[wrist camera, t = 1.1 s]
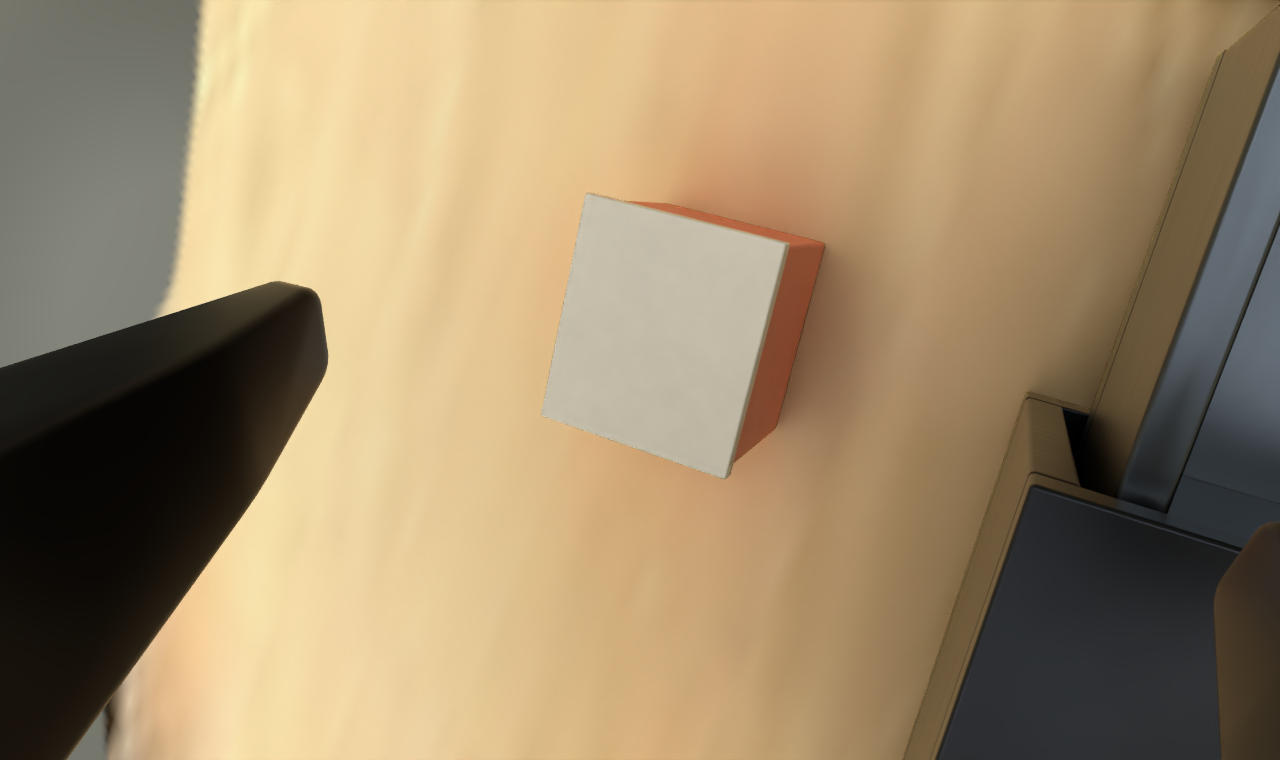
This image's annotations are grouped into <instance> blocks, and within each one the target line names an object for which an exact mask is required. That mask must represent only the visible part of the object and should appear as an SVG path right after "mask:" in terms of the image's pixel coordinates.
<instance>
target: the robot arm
mask: <svg viewBox="0 0 1280 760" xmlns="http://www.w3.org/2000/svg"><path fill="white" fill-rule="evenodd" d="M327 365H328V349H327V342H326V335H325V328H324V321H323V314H322V307H321V302H320V298H319V297H318V295H317V293H316V292H315V291H313V290H312V289H310V288H307V287H303V286H298V285H294V284H290V283H286V282H281V281H274V282H270V283H267V284H264V285H261V286H257V287H254V288H251V289H248V290H245V291H242V292H239V293H235V294H232V295H229V296H226V297H223V298H220V299H216V300H213V301H210V302H207V303H204V304H201V305H198V306H194V307H191V308H188V309H185V310H182V311H179V312H175V313H172V314H169V315H166V316H163V317H160V318H156V319H153V320H150V321H147V322H144V323H141V324H138V325H134V326H131V327H129V328H125V329H122V330H119V331H116V332H112V333H109V334H106V335H103V336H100V337H96V338H94V339H90V340H87V341H84V342H81V343H78V344H74V345H71V346H68V347H65V348H62V349H59V350H56V351H52V352H49V353H46V354H43V355H40V356H37V357H33V358H30V359H27V360H24V361H21V362H18V363H14V364H11V365H8V366H5V367H2V368H0V760H67V759H68V757H69V756H70V755H71V753H72V752H73V750H74V749H75V748H76V746H77V745H78V743H79V742H80V741H81V739H82V738H83V737H84V735H85V734H86V732H87V731H88V730H89V728H90V727H91V725H92V724H93V723H94V721H95V720H96V718H97V717H98V716H99V714H100V713H101V712H102V710H103V709H104V707H105V706H106V705H107V703H108V702H109V700H110V699H111V698H112V696H113V695H114V693H115V692H116V691H117V689H118V688H119V687H120V685H121V684H122V682H123V681H124V680H125V678H126V677H127V675H128V674H129V673H130V671H131V670H132V668H133V667H134V666H135V664H136V663H137V662H138V660H139V659H140V657H141V656H142V655H143V653H144V652H145V650H146V649H147V648H148V646H149V645H150V643H151V642H152V641H153V639H154V638H155V637H156V635H157V634H158V632H159V631H160V630H161V628H162V627H163V625H164V624H165V623H166V621H167V620H168V619H169V617H170V616H171V614H172V613H173V612H174V610H175V609H176V607H177V606H178V605H179V603H180V602H181V600H182V599H183V598H184V596H185V595H186V594H187V592H188V591H189V589H190V588H191V587H192V585H193V584H194V582H195V581H196V580H197V578H198V577H199V575H200V574H201V573H202V571H203V570H204V569H205V567H206V566H207V564H208V563H209V562H210V560H211V559H212V557H213V556H214V555H215V553H216V552H217V550H218V549H219V548H220V546H221V545H222V544H223V542H224V541H225V539H226V538H227V537H228V535H229V534H230V532H231V531H232V530H233V528H234V527H235V525H236V524H237V523H238V521H239V520H240V519H241V517H242V516H243V514H244V513H245V511H246V510H247V509H248V507H249V506H250V504H251V503H252V501H253V500H254V498H255V497H256V495H257V494H258V492H259V491H260V489H261V487H262V486H263V484H264V482H265V481H266V479H267V478H268V476H269V474H270V472H271V471H272V469H273V467H274V465H275V463H276V462H277V460H278V458H279V456H280V455H281V453H282V451H283V449H284V447H285V446H286V444H287V442H288V440H289V439H290V437H291V435H292V433H293V431H294V430H295V428H296V426H297V424H298V422H299V421H300V419H301V417H302V415H303V414H304V412H305V410H306V408H307V406H308V405H309V403H310V401H311V399H312V398H313V396H314V394H315V392H316V390H317V389H318V387H319V385H320V383H321V382H322V380H323V377H324V375H325V372H326V369H327ZM1213 616H1214V636H1215V657H1216V678H1217V699H1218V719H1219V739H1220V751H1221V760H1280V521H1272V522H1268V523H1265V524H1264V525H1262V526H1261V527H1260V528H1259V529H1258V530H1257V531H1256V532H1255V533H1254V534H1253V536H1252V537H1251V538H1250V540H1249V541H1248V543H1247V544H1246V545H1245V547H1244V548H1243V549H1242V551H1241V552H1240V553H1239V555H1238V556H1237V557H1236V559H1235V560H1234V561H1233V563H1232V564H1231V565H1230V567H1229V568H1228V570H1227V571H1226V572H1225V574H1224V575H1223V576H1222V578H1221V579H1220V581H1219V583H1218V585H1217V588H1216V591H1215V595H1214V601H1213Z"/></svg>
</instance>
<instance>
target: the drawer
mask: <svg viewBox="0 0 1280 760" xmlns="http://www.w3.org/2000/svg"><path fill="white" fill-rule="evenodd" d="M1074 461H1075V465H1076V470H1077V474H1078V478H1079V483H1080V487H1081V488H1084V489H1087V490H1091V491H1094V492H1097V493H1100V494H1104V495H1107V496H1110V497H1113V498H1117V499H1120V500H1123V501H1126V502H1130V503H1133V504H1136V505H1139V506H1142V507H1146V508H1149V509H1152V510H1155V511H1159V512H1162V513H1165V514H1168V515H1172V516H1175V517H1178V518H1181V519H1185V520H1188V521H1191V522H1194V523H1197V524H1201V525H1204V526H1207V527H1210V528H1214V529H1217V530H1220V531H1223V532H1227V533H1230V534H1233V535H1236V536H1240V537H1243V538H1246V539H1249V540H1250V538H1251V537H1252V536H1253V534H1254V533H1255V532H1256V531H1257V530H1258V529H1259V528H1260V527H1261V526H1262V525H1264V524H1265V523H1268V522H1272V521H1280V5H1279V6H1278V7H1277V8H1276V9H1274V10H1273V11H1272V12H1271V13H1270V14H1268V15H1267V16H1266V17H1265V18H1264V19H1263V20H1261V21H1260V22H1259V23H1258V24H1257V25H1256V26H1254V27H1253V28H1252V29H1251V30H1250V31H1248V32H1247V33H1246V34H1245V35H1244V36H1243V37H1241V38H1240V39H1239V40H1238V41H1237V42H1236V43H1234V44H1233V45H1232V46H1231V47H1230V48H1228V49H1227V50H1225V51H1223V52H1222V53H1221V54H1220V55H1219V56H1218V57H1217V59H1216V62H1215V64H1214V67H1213V70H1212V73H1211V76H1210V78H1209V81H1208V84H1207V87H1206V90H1205V92H1204V95H1203V98H1202V101H1201V104H1200V106H1199V109H1198V112H1197V115H1196V118H1195V120H1194V123H1193V126H1192V129H1191V132H1190V134H1189V137H1188V140H1187V143H1186V146H1185V148H1184V151H1183V154H1182V157H1181V160H1180V162H1179V165H1178V168H1177V171H1176V174H1175V176H1174V179H1173V182H1172V185H1171V188H1170V190H1169V193H1168V196H1167V199H1166V202H1165V204H1164V207H1163V210H1162V213H1161V216H1160V218H1159V221H1158V224H1157V227H1156V230H1155V232H1154V235H1153V238H1152V241H1151V244H1150V246H1149V249H1148V252H1147V255H1146V258H1145V260H1144V263H1143V266H1142V269H1141V272H1140V274H1139V277H1138V280H1137V283H1136V286H1135V288H1134V291H1133V294H1132V297H1131V300H1130V302H1129V305H1128V308H1127V311H1126V314H1125V316H1124V319H1123V322H1122V325H1121V328H1120V330H1119V333H1118V336H1117V339H1116V342H1115V344H1114V347H1113V350H1112V353H1111V356H1110V358H1109V361H1108V364H1107V367H1106V370H1105V372H1104V375H1103V378H1102V381H1101V384H1100V386H1099V389H1098V392H1097V395H1096V398H1095V400H1094V403H1093V406H1092V409H1091V412H1090V414H1089V417H1088V420H1087V423H1086V426H1085V428H1084V431H1083V434H1082V437H1081V440H1080V442H1079V445H1078V448H1077V451H1076V454H1075V456H1074Z"/></svg>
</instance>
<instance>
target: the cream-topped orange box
mask: <svg viewBox="0 0 1280 760" xmlns="http://www.w3.org/2000/svg"><path fill="white" fill-rule="evenodd" d="M824 247H825V246H824V243H822V242H819V241H815V240H811V239H807V238H803V237H799V236H795V235H791V234H787V233H783V232H779V231H775V230H771V229H767V228H763V227H759V226H755V225H751V224H747V223H743V222H739V221H735V220H731V219H727V218H723V217H719V216H715V215H711V214H707V213H703V212H699V211H695V210H691V209H687V208H683V207H679V206H675V205H671V204H665V203H649V202H634V201H622V200H618V199H614V198H610V197H606V196H602V195H598V194H594V193H586V195H585V199H584V204H583V209H582V214H581V219H580V224H579V229H578V234H577V239H576V244H575V249H574V254H573V259H572V264H571V269H570V274H569V279H568V284H567V289H566V293H565V298H564V303H563V308H562V313H561V318H560V323H559V328H558V333H557V338H556V343H555V348H554V353H553V358H552V363H551V368H550V373H549V378H548V383H547V388H546V393H545V398H544V403H543V408H542V413H541V416H543V417H546V418H549V419H552V420H555V421H558V422H560V423H563V424H566V425H569V426H572V427H575V428H578V429H581V430H583V431H586V432H589V433H592V434H595V435H598V436H601V437H604V438H607V439H609V440H612V441H615V442H618V443H621V444H624V445H627V446H630V447H632V448H635V449H638V450H641V451H644V452H647V453H650V454H653V455H655V456H658V457H661V458H664V459H667V460H670V461H673V462H676V463H678V464H681V465H684V466H687V467H690V468H693V469H696V470H699V471H702V472H704V473H707V474H710V475H713V476H716V477H719V478H722V479H726V478H727V477H728V476H730V474H731V470H732V466H733V463H734V462H736V461H737V460H738V459H739V458H740V457H742V456H743V455H744V454H745V453H746V452H748V451H749V450H750V449H751V448H752V447H754V446H755V445H756V444H757V443H759V442H760V441H761V440H762V439H763V438H765V437H766V436H767V435H768V434H769V433H771V432H772V431H773V430H774V429H775V428H776V425H777V421H778V417H779V414H780V410H781V406H782V403H783V399H784V395H785V391H786V388H787V384H788V380H789V377H790V373H791V369H792V365H793V362H794V358H795V354H796V351H797V347H798V343H799V339H800V336H801V332H802V328H803V325H804V321H805V317H806V313H807V310H808V306H809V302H810V299H811V295H812V291H813V287H814V284H815V280H816V276H817V273H818V269H819V265H820V261H821V258H822V254H823V250H824Z"/></svg>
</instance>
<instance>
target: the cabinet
mask: <svg viewBox="0 0 1280 760" xmlns="http://www.w3.org/2000/svg"><path fill="white" fill-rule="evenodd" d="M1090 412H1091V409H1088V408H1085V407H1081V406H1078V405H1074V404H1071V403H1067V402H1064V401H1060V400H1056V399H1053V398H1049V397H1046V396H1042V395H1039V394H1035V393H1032V392H1027V393H1026V394H1025V397H1024V400H1023V403H1022V406H1021V409H1020V412H1019V415H1018V418H1017V421H1016V424H1015V427H1014V430H1013V433H1012V436H1011V439H1010V442H1009V445H1008V448H1007V451H1006V454H1005V457H1004V459H1003V462H1002V465H1001V468H1000V471H999V474H998V477H997V480H996V483H995V486H994V489H993V492H992V495H991V498H990V501H989V504H988V507H987V510H986V513H985V516H984V519H983V522H982V525H981V528H980V531H979V534H978V537H977V540H976V543H975V546H974V548H973V551H972V554H971V557H970V560H969V563H968V566H967V569H966V572H965V575H964V578H963V581H962V584H961V587H960V590H959V593H958V596H957V599H956V602H955V605H954V608H953V611H952V614H951V617H950V620H949V623H948V626H947V629H946V632H945V635H944V637H943V640H942V643H941V646H940V649H939V652H938V655H937V658H936V661H935V664H934V667H933V670H932V673H931V676H930V679H929V682H928V685H927V688H926V691H925V694H924V697H923V700H922V703H921V706H920V709H919V712H918V715H917V718H916V721H915V724H914V726H913V729H912V732H911V735H910V738H909V741H908V744H907V747H906V750H905V753H904V756H903V759H902V760H1221V751H1220V739H1219V719H1218V699H1217V678H1216V657H1215V636H1214V616H1213V601H1214V595H1215V591H1216V588H1217V585H1218V583H1219V581H1220V579H1221V578H1222V576H1223V575H1224V574H1225V572H1226V571H1227V570H1228V568H1229V567H1230V565H1231V564H1232V563H1233V561H1234V560H1235V559H1236V557H1237V556H1238V555H1239V553H1240V552H1241V551H1242V549H1243V548H1244V547H1245V545H1246V544H1247V543H1248V541H1249V539H1246V538H1243V537H1240V536H1236V535H1233V534H1230V533H1227V532H1223V531H1220V530H1217V529H1214V528H1210V527H1207V526H1204V525H1201V524H1197V523H1194V522H1191V521H1188V520H1185V519H1181V518H1178V517H1175V516H1172V515H1168V514H1165V513H1162V512H1159V511H1155V510H1152V509H1149V508H1146V507H1142V506H1139V505H1136V504H1133V503H1130V502H1126V501H1123V500H1120V499H1117V498H1113V497H1110V496H1107V495H1104V494H1100V493H1097V492H1094V491H1091V490H1087V489H1084V488H1081V487H1080V483H1079V478H1078V474H1077V470H1076V465H1075V461H1074V456H1075V454H1076V451H1077V448H1078V445H1079V442H1080V440H1081V437H1082V434H1083V431H1084V428H1085V426H1086V423H1087V420H1088V417H1089V414H1090Z"/></svg>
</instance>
